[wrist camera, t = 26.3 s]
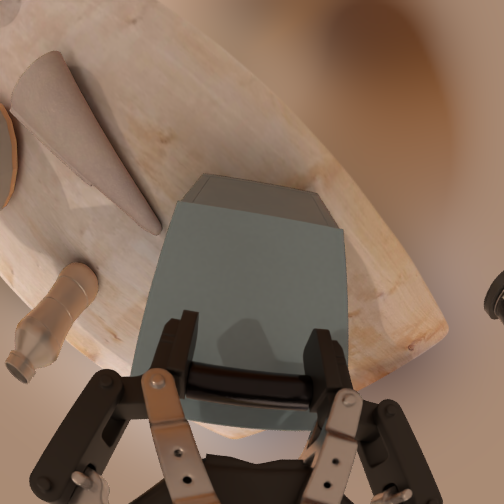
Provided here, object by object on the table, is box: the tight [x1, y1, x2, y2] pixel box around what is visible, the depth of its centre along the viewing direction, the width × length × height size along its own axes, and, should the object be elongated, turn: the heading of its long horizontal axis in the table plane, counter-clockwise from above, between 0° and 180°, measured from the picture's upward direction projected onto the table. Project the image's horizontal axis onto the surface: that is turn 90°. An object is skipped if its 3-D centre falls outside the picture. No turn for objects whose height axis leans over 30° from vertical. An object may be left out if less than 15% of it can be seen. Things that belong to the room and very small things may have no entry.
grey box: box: [181, 173, 338, 228], centre depth 30 cm, size 14×13×10 cm
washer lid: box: [130, 201, 348, 431], centre depth 16 cm, size 15×13×5 cm
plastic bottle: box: [5, 263, 98, 384], centre depth 29 cm, size 6×7×20 cm
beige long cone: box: [10, 51, 162, 235], centre depth 26 cm, size 8×9×26 cm
